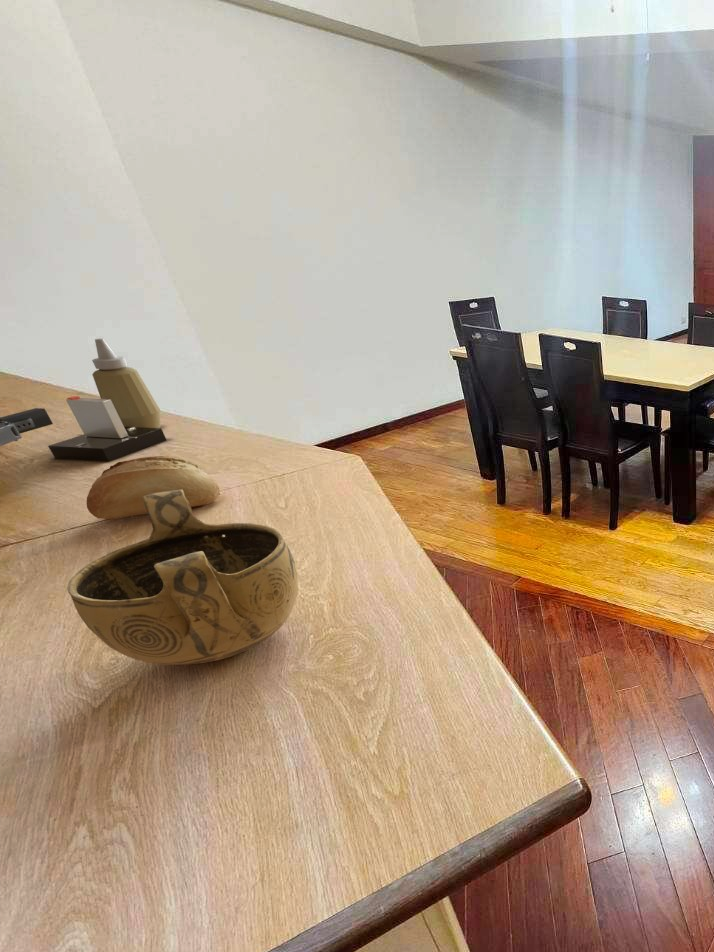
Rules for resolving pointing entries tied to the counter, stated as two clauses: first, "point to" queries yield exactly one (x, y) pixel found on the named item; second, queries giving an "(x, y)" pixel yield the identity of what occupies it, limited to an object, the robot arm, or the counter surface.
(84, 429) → the red-tipped white tile
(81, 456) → the panel
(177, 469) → the bread roll
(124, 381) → the squeeze bottle
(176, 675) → the counter surface
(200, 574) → the ceramic bowl
